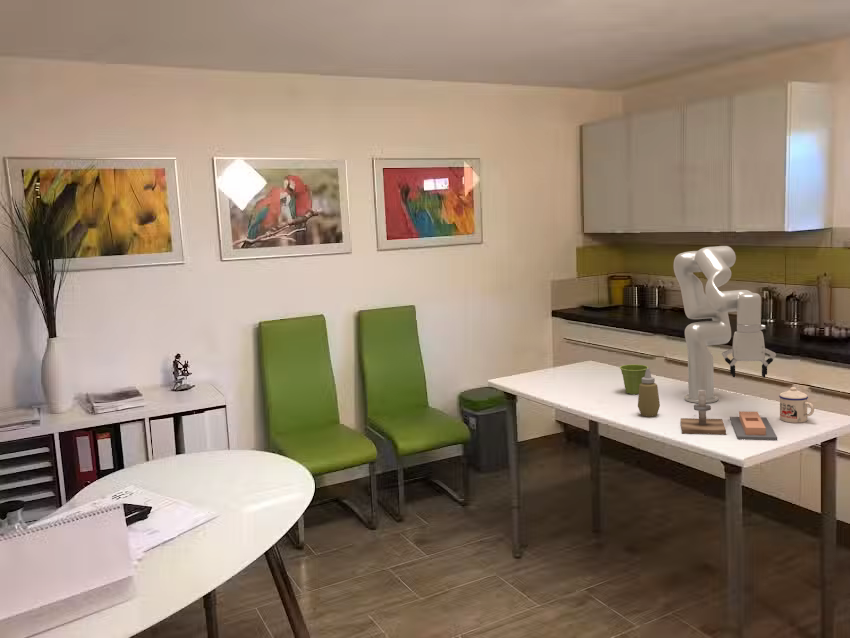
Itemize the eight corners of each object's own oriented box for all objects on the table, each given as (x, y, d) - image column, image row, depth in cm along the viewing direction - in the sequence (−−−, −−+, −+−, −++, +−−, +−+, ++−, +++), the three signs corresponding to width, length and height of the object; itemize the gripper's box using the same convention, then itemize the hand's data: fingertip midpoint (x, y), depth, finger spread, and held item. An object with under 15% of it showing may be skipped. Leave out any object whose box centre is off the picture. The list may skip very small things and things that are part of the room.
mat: (729, 419, 257) (729, 416, 257) (766, 419, 254) (766, 417, 254) (737, 439, 235) (737, 436, 235) (777, 440, 231) (777, 437, 231)
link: (739, 418, 255) (739, 411, 254) (757, 418, 253) (757, 411, 252) (745, 434, 236) (745, 427, 235) (765, 435, 234) (765, 427, 234)
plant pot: (620, 396, 300) (620, 370, 299) (620, 389, 312) (619, 364, 310) (650, 396, 298) (649, 369, 296) (648, 389, 309) (647, 364, 307)
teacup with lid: (773, 419, 254) (773, 387, 252) (789, 414, 258) (789, 383, 256) (805, 426, 243) (805, 393, 242) (821, 421, 248) (821, 389, 246)
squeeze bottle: (661, 417, 265) (660, 370, 263) (639, 418, 267) (637, 371, 264) (658, 412, 273) (657, 366, 271) (637, 412, 275) (635, 366, 272)
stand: (680, 422, 258) (679, 386, 256) (722, 423, 254) (721, 386, 252) (682, 433, 245) (681, 395, 243) (726, 434, 240) (725, 395, 239)
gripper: (774, 326, 247) (773, 374, 250) (720, 326, 253) (720, 373, 255) (778, 330, 240) (777, 379, 243) (722, 330, 246) (722, 378, 248)
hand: (748, 376), depth 249 cm, fingers open, 9 cm apart
